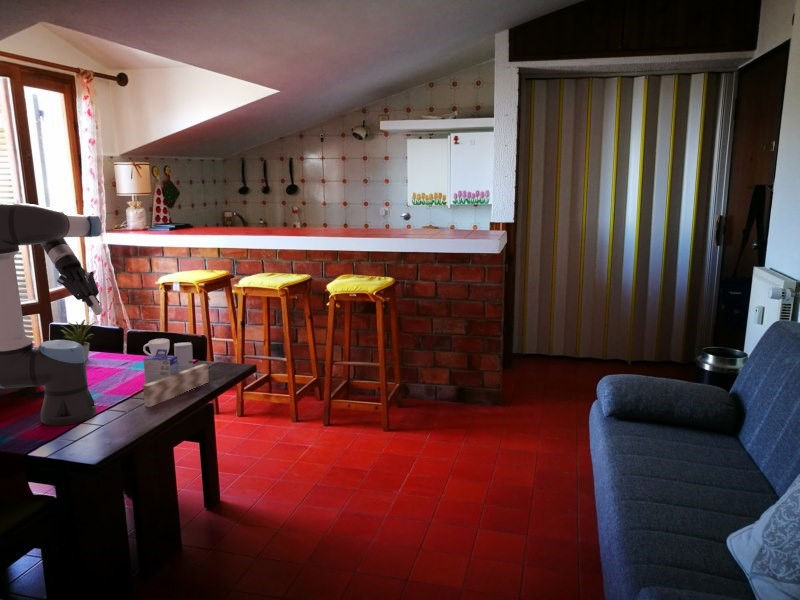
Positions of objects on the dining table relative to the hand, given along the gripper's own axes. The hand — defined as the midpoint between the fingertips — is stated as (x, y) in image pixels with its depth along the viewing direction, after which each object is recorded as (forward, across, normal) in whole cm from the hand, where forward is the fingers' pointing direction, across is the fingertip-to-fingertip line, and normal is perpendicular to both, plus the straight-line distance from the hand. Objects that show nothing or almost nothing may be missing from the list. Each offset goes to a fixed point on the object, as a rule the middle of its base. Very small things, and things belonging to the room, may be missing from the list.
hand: (99, 312), depth 210 cm
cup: (+11, -32, -25) cm, 42 cm away
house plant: (-5, -16, -43) cm, 46 cm away
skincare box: (+30, -21, -6) cm, 37 cm away
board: (+39, -6, +3) cm, 40 cm away
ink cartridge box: (+35, -5, -2) cm, 35 cm away
